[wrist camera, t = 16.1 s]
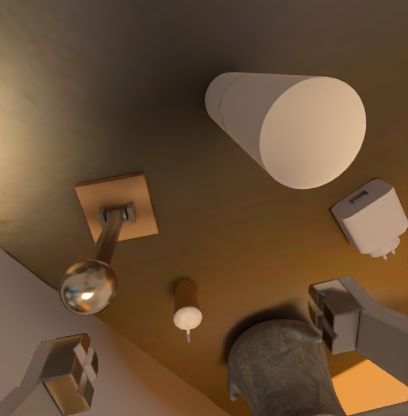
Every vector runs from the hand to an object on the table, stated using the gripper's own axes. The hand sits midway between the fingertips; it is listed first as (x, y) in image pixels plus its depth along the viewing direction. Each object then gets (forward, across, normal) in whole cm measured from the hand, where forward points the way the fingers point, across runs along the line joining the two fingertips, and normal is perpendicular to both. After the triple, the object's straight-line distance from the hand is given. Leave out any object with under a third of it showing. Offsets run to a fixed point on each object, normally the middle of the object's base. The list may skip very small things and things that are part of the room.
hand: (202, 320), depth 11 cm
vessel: (+35, -13, +48) cm, 61 cm away
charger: (+35, -32, +22) cm, 52 cm away
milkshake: (+35, +3, +28) cm, 45 cm away
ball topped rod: (+23, +10, +7) cm, 26 cm away
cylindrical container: (+35, -9, -3) cm, 37 cm away
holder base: (+35, +10, +10) cm, 38 cm away
